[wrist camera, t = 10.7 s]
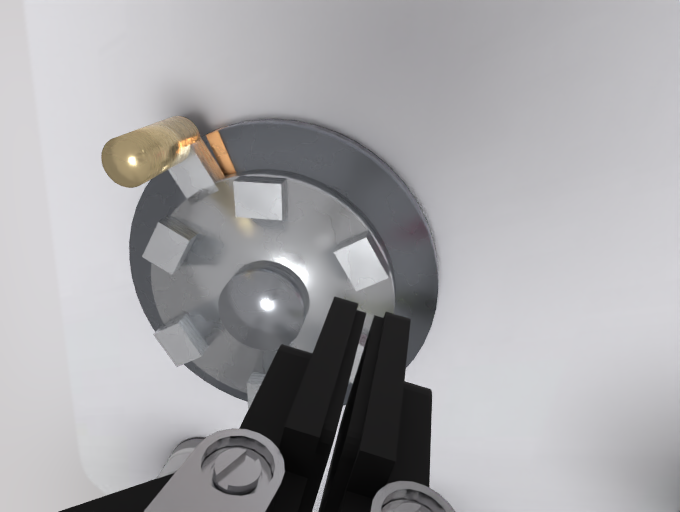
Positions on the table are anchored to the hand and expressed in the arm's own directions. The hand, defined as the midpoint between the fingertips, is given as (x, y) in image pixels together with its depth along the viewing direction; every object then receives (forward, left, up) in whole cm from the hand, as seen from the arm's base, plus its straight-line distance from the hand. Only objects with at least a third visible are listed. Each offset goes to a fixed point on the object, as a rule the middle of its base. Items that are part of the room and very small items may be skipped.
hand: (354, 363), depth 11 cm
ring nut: (+8, -7, -19) cm, 22 cm away
